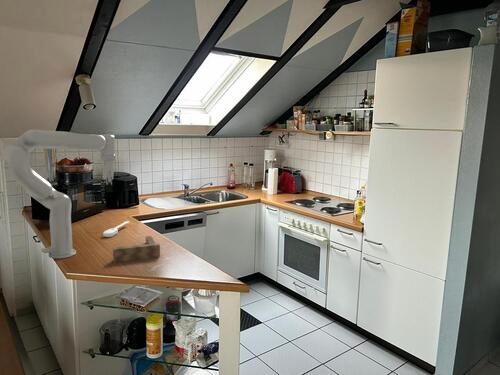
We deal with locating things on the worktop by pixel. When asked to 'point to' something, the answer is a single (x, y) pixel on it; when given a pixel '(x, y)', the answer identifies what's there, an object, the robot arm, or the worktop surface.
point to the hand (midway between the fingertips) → (109, 191)
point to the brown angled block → (137, 251)
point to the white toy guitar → (113, 230)
